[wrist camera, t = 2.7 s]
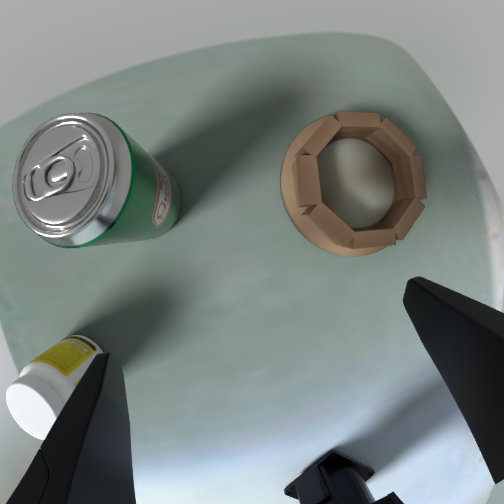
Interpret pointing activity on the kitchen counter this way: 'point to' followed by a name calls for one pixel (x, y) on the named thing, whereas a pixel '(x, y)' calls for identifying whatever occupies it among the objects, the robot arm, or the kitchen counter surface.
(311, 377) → the kitchen counter surface
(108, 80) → the kitchen counter surface
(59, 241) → the soda can
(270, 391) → the kitchen counter surface
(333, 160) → the holder
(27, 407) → the supplement bottle
